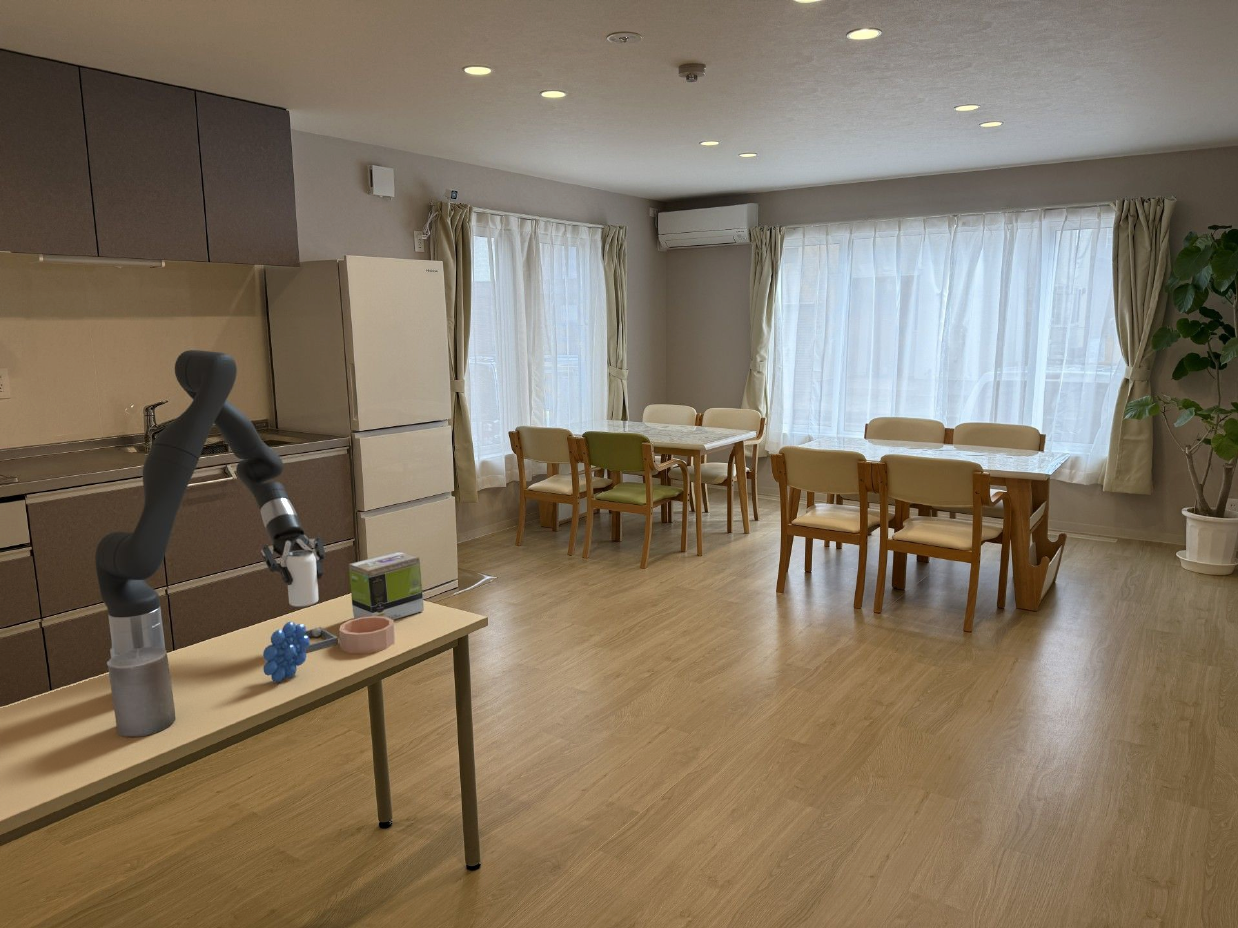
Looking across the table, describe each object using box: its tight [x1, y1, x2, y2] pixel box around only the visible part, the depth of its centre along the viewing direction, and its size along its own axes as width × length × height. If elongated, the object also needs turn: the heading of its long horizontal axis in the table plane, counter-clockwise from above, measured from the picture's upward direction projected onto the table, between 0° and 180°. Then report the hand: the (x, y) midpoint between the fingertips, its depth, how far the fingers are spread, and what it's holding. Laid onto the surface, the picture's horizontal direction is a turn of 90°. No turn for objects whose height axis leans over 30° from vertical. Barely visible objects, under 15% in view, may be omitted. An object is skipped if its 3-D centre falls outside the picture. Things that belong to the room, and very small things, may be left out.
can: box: [286, 549, 319, 608], centre depth 195 cm, size 6×6×12 cm
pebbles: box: [312, 627, 322, 638], centre depth 197 cm, size 9×9×2 cm
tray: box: [302, 626, 339, 654], centre depth 197 cm, size 10×10×2 cm
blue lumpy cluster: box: [262, 620, 311, 683], centre depth 177 cm, size 12×7×12 cm, turn 151°
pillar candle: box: [106, 647, 176, 738], centre depth 156 cm, size 10×10×15 cm
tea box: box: [348, 551, 425, 621], centre depth 215 cm, size 15×10×15 cm, turn 136°
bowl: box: [339, 616, 396, 655], centre depth 196 cm, size 12×12×4 cm
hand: (305, 579), depth 194 cm, fingers closed on can, 6 cm apart
